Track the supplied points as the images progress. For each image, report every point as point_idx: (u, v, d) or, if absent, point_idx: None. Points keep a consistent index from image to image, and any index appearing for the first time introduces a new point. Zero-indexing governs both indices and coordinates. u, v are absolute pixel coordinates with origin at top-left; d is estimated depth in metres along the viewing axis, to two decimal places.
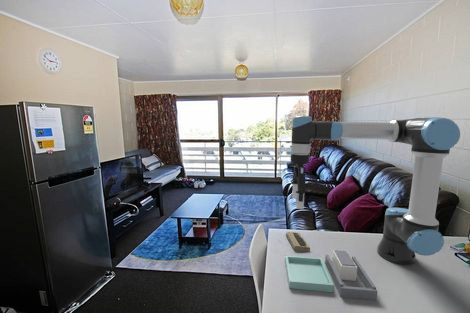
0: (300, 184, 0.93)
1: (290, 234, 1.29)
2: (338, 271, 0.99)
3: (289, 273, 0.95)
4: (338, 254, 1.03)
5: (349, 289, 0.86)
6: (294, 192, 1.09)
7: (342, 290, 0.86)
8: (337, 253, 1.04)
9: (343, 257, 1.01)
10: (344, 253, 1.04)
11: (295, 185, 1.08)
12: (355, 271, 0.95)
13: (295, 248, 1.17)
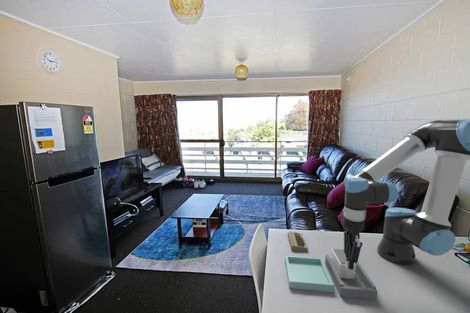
0: (353, 256, 0.90)
1: (291, 234, 1.29)
2: (337, 269, 1.00)
3: (289, 273, 0.95)
4: (337, 252, 1.04)
5: (349, 289, 0.86)
6: None
7: (342, 290, 0.86)
8: (336, 251, 1.05)
9: (341, 255, 1.02)
10: (343, 251, 1.05)
11: None
12: (354, 269, 0.96)
13: (292, 248, 1.18)
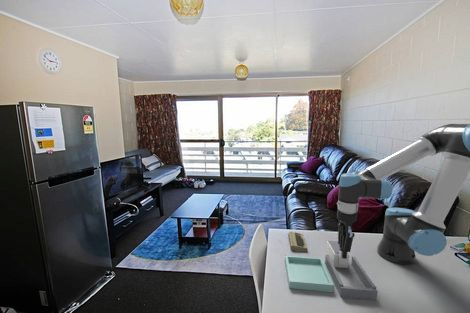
0: (346, 246, 0.97)
1: (291, 234, 1.29)
2: (332, 259, 1.07)
3: (289, 273, 0.95)
4: (331, 244, 1.12)
5: (349, 289, 0.86)
6: None
7: (342, 290, 0.86)
8: (331, 243, 1.12)
9: (336, 246, 1.09)
10: (337, 243, 1.13)
11: (343, 250, 1.02)
12: (347, 259, 1.04)
13: (292, 247, 1.18)
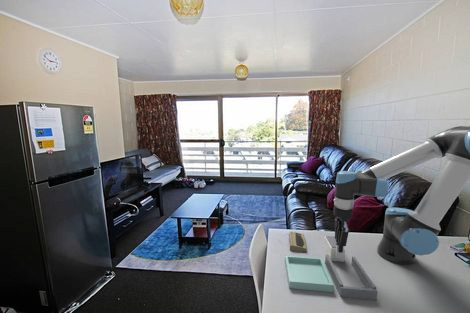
0: (342, 240, 1.02)
1: (291, 234, 1.29)
2: (328, 253, 1.12)
3: (289, 273, 0.95)
4: (329, 239, 1.16)
5: (349, 289, 0.86)
6: None
7: (342, 290, 0.86)
8: (328, 238, 1.17)
9: (333, 241, 1.14)
10: (334, 238, 1.17)
11: (339, 244, 1.07)
12: (344, 253, 1.08)
13: (291, 247, 1.18)
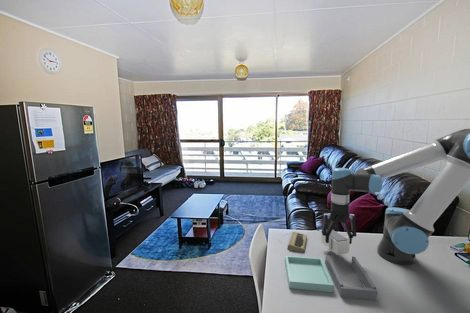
0: (322, 227, 1.12)
1: (293, 234, 1.29)
2: (333, 248, 1.10)
3: (289, 273, 0.95)
4: None
5: (349, 289, 0.86)
6: None
7: (342, 290, 0.86)
8: None
9: (334, 235, 1.13)
10: (332, 231, 1.17)
11: (346, 237, 1.11)
12: (348, 244, 1.09)
13: (288, 246, 1.19)
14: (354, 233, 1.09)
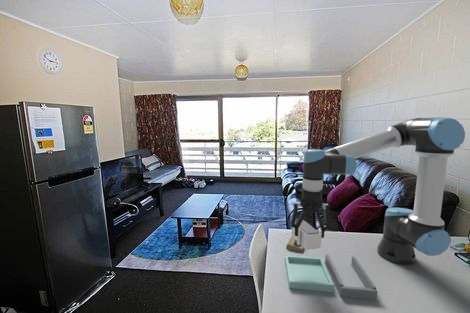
0: None
1: None
2: (302, 241, 0.95)
3: (289, 273, 0.95)
4: None
5: (349, 289, 0.86)
6: None
7: (342, 290, 0.86)
8: None
9: (304, 227, 0.98)
10: (304, 223, 1.02)
11: (318, 230, 0.96)
12: (319, 238, 0.94)
13: (287, 246, 1.19)
14: (327, 226, 0.94)
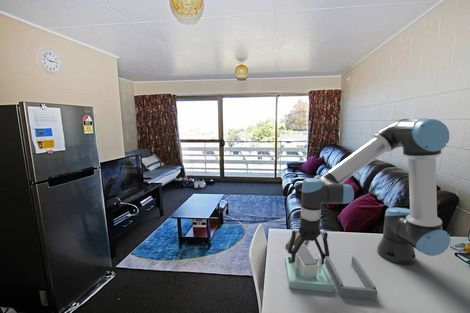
0: (289, 243, 0.98)
1: None
2: (300, 269, 0.97)
3: (289, 273, 0.95)
4: (298, 251, 1.01)
5: (349, 289, 0.86)
6: None
7: (342, 290, 0.86)
8: None
9: (303, 254, 0.99)
10: (303, 248, 1.02)
11: (318, 256, 0.97)
12: (317, 268, 0.95)
13: (286, 246, 1.19)
14: (327, 253, 0.95)
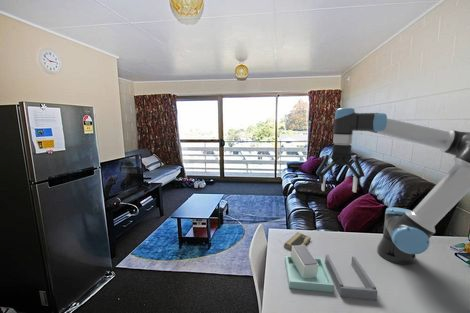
0: (319, 167, 1.09)
1: (296, 234, 1.29)
2: (300, 269, 0.97)
3: (289, 273, 0.95)
4: (298, 251, 1.01)
5: (349, 289, 0.86)
6: (353, 185, 1.08)
7: (342, 290, 0.86)
8: (297, 250, 1.01)
9: (303, 254, 0.99)
10: (303, 248, 1.02)
11: (354, 178, 1.07)
12: (317, 268, 0.95)
13: (285, 245, 1.20)
14: (362, 173, 1.05)
